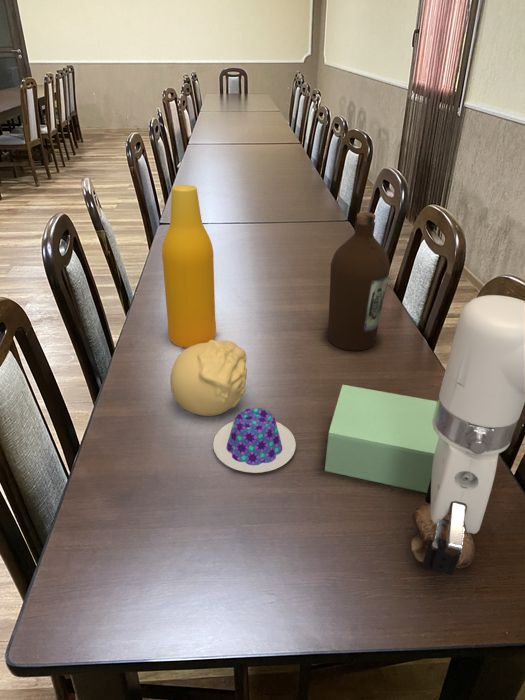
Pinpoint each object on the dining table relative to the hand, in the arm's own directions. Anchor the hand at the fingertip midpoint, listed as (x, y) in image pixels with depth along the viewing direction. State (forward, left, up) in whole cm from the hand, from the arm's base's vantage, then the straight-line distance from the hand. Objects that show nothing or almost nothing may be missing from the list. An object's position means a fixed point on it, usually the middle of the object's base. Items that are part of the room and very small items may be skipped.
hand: (437, 534), depth 62 cm
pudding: (+25, -11, -3) cm, 28 cm away
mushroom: (-1, 0, -3) cm, 3 cm away
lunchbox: (+7, -15, -3) cm, 17 cm away
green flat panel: (+7, -15, +4) cm, 17 cm away
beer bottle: (+46, -38, -3) cm, 60 cm away
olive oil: (+16, -47, -3) cm, 50 cm away
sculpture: (+35, -19, -3) cm, 40 cm away
